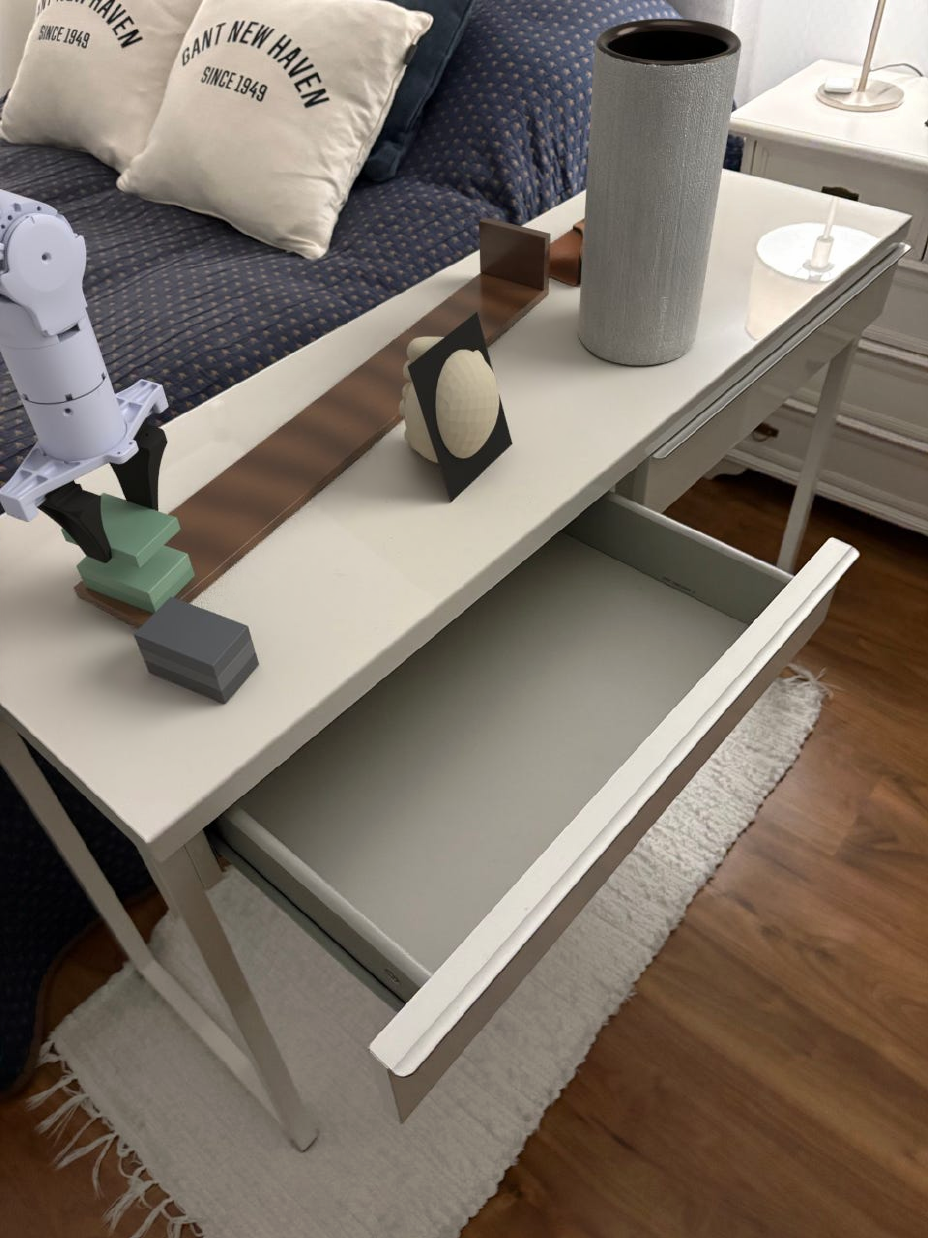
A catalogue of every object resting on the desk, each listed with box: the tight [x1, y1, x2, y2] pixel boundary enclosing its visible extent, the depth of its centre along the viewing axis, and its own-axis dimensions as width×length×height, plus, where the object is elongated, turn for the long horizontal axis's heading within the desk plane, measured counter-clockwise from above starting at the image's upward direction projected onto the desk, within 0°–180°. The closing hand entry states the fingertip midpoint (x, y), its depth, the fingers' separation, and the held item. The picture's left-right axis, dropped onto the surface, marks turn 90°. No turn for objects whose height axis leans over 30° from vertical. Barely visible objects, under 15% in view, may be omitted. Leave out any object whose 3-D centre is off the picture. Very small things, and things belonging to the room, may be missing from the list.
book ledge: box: [73, 216, 551, 630], centre depth 90 cm, size 61×8×7 cm, turn 147°
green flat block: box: [75, 545, 195, 614], centre depth 76 cm, size 5×7×2 cm, turn 63°
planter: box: [578, 18, 742, 366], centre depth 91 cm, size 12×12×28 cm
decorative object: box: [399, 312, 513, 503], centre depth 84 cm, size 13×10×10 cm
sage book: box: [60, 492, 180, 568], centre depth 73 cm, size 5×7×1 cm, turn 63°
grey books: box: [133, 597, 260, 705], centre depth 70 cm, size 4×7×4 cm, turn 63°
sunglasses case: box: [549, 218, 584, 287], centre depth 114 cm, size 18×7×7 cm, turn 142°
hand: (122, 535), depth 73 cm, fingers closed on sage book, 5 cm apart
